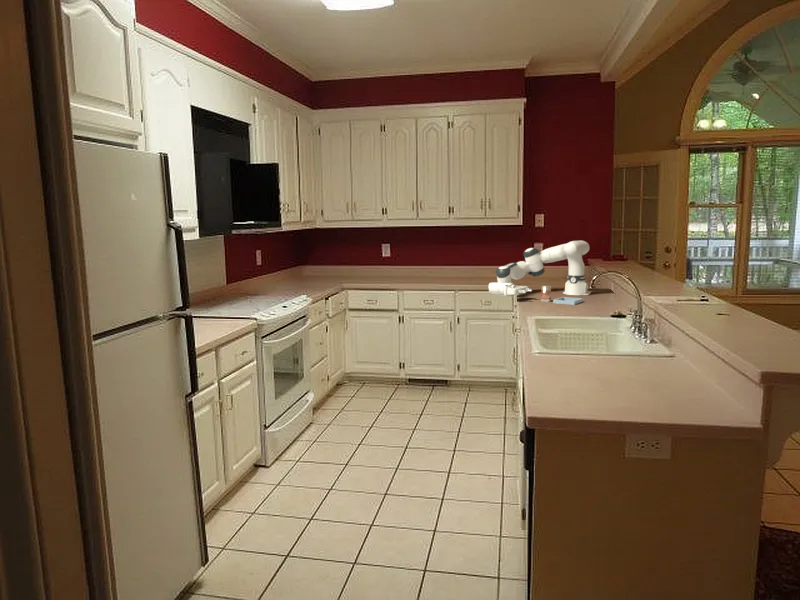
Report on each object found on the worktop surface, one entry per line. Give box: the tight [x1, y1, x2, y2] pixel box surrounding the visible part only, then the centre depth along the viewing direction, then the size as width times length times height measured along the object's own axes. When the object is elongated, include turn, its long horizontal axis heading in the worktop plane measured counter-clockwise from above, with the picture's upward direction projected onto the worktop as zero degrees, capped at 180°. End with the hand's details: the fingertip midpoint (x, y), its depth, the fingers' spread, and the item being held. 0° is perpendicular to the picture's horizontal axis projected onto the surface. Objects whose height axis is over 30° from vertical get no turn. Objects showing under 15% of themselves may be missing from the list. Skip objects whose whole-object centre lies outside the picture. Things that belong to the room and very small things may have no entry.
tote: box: [552, 296, 584, 306], centre depth 375 cm, size 16×14×3 cm
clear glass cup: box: [540, 285, 552, 303], centre depth 381 cm, size 6×6×11 cm
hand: (528, 290), depth 388 cm, fingers open, 8 cm apart
